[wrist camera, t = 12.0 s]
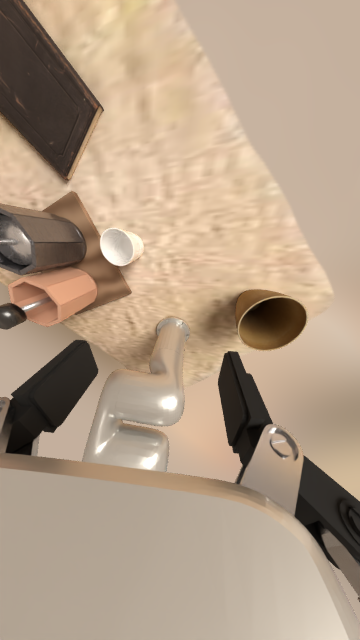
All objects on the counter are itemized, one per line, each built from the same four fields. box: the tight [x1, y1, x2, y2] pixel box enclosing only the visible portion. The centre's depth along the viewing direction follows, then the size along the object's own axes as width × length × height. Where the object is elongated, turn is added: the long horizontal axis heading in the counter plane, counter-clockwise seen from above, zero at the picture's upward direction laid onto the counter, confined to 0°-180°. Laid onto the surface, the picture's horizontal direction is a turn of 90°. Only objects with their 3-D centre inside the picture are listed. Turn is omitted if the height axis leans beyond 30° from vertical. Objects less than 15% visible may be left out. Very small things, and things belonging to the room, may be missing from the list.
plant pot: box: [235, 290, 308, 351], centre depth 40 cm, size 15×15×16 cm
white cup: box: [100, 228, 144, 266], centre depth 37 cm, size 8×8×10 cm
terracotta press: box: [8, 267, 98, 327], centre depth 41 cm, size 12×15×16 cm
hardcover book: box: [0, 0, 104, 180], centre depth 28 cm, size 16×23×2 cm
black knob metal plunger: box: [0, 296, 53, 329], centre depth 35 cm, size 9×9×19 cm
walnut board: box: [41, 191, 132, 315], centre depth 45 cm, size 28×24×2 cm
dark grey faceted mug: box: [0, 204, 87, 275], centre depth 34 cm, size 12×15×16 cm
